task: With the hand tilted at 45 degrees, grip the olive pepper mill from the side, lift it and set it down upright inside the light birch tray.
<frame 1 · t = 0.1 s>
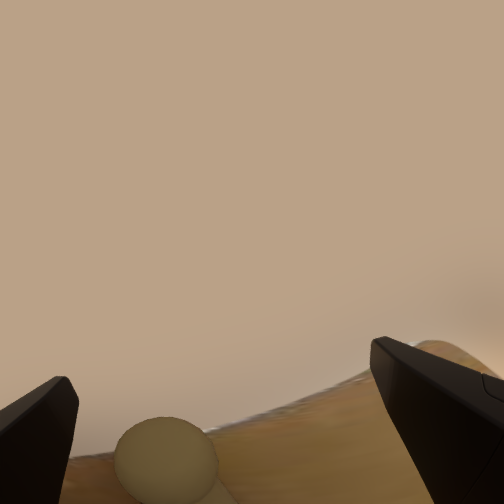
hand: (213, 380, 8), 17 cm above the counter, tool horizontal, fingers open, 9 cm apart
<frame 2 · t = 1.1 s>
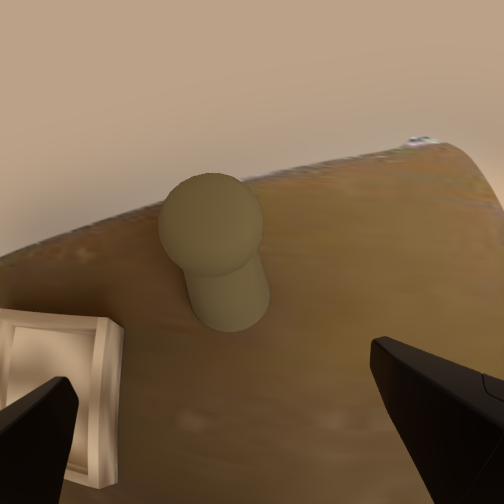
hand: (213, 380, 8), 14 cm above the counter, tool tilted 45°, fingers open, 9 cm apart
birch tray: (54, 395, 20), on the counter
olive pepper mill: (230, 294, 24), on the counter
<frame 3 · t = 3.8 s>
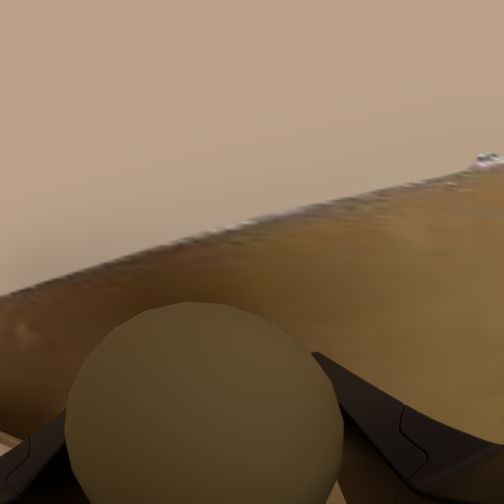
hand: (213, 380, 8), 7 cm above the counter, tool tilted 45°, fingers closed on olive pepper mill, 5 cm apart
olive pepper mill: (240, 422, 14), on the counter, touching gripper
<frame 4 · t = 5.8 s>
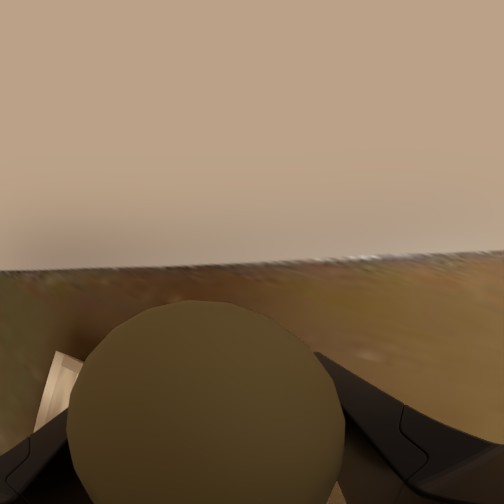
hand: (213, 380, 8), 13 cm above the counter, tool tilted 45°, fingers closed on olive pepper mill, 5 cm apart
birch tray: (122, 460, 18), on the counter
olive pepper mill: (241, 421, 14), point 6 cm above the counter, touching gripper
when the fingers open (8 cm above the counter, at t = 8.0 s): olive pepper mill drops 1 cm, resting on birch tray.
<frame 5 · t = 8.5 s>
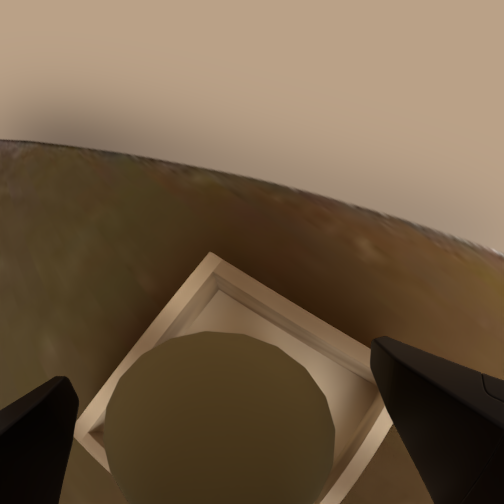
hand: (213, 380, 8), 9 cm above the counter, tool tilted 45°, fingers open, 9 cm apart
birch tray: (242, 421, 15), on the counter
olive pepper mill: (243, 425, 15), resting on birch tray
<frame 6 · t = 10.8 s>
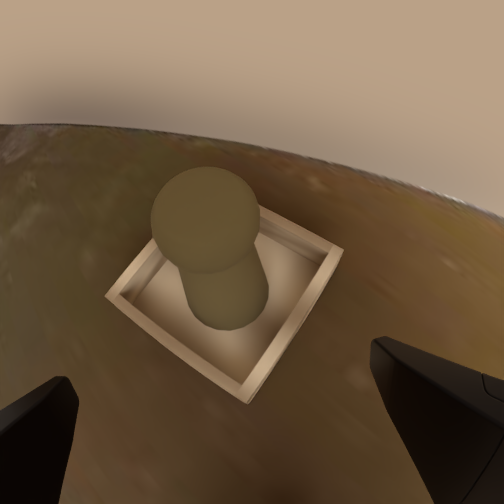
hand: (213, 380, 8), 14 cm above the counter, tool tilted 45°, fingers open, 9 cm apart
birch tray: (226, 290, 24), on the counter
olive pepper mill: (227, 291, 24), resting on birch tray
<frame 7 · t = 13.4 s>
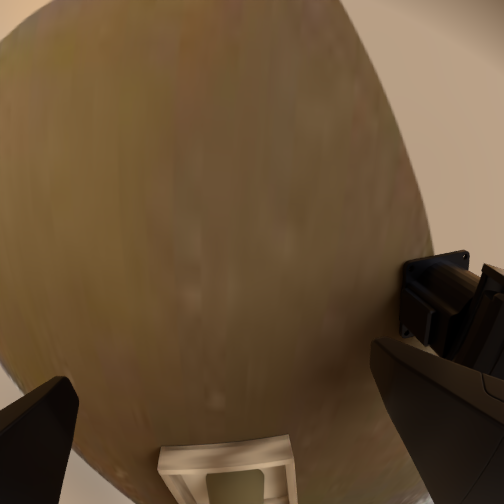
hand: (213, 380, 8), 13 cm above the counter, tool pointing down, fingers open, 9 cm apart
birch tray: (234, 475, 27), on the counter
olive pepper mill: (235, 477, 27), resting on birch tray
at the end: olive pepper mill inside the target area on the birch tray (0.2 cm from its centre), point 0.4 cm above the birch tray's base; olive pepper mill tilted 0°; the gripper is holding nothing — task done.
